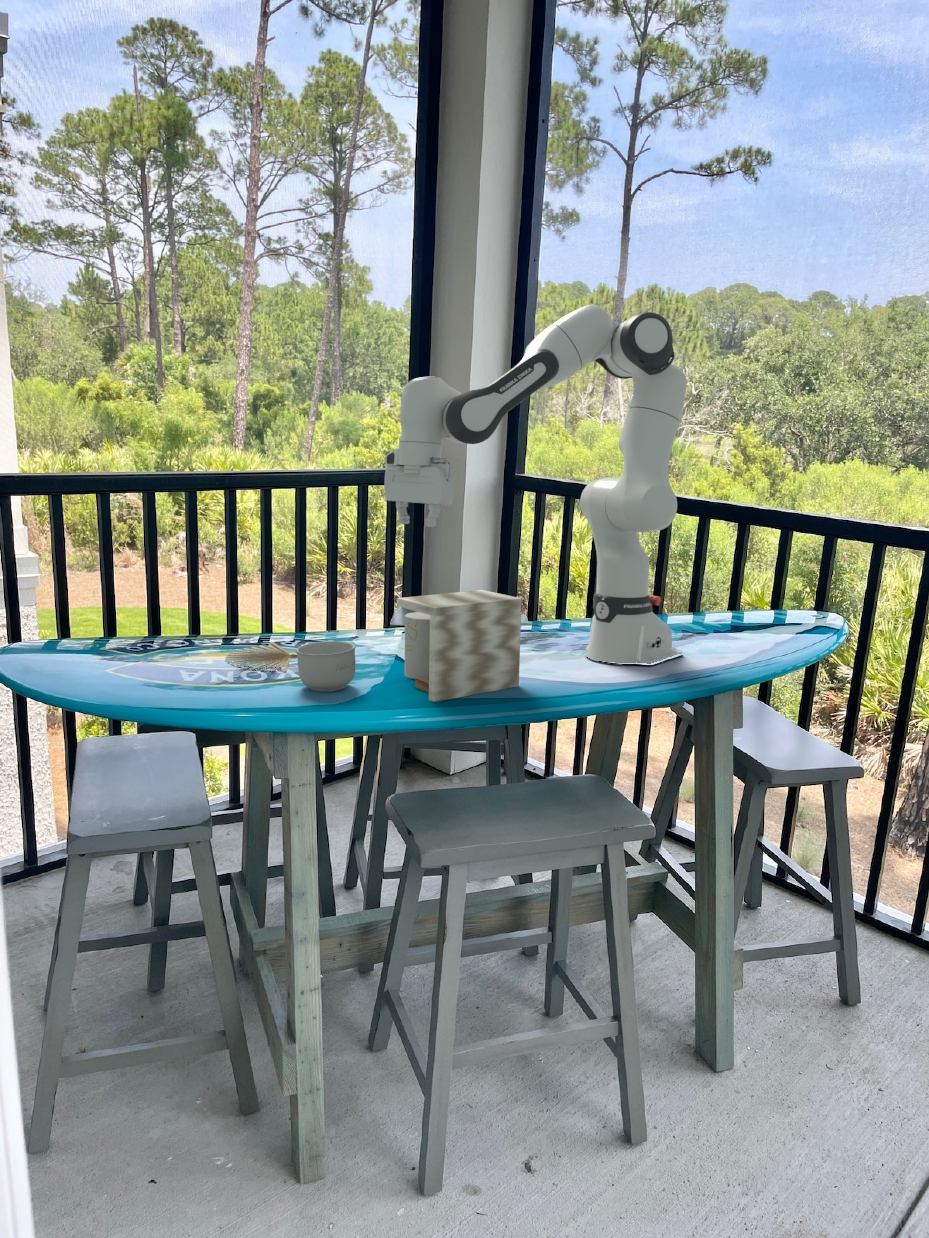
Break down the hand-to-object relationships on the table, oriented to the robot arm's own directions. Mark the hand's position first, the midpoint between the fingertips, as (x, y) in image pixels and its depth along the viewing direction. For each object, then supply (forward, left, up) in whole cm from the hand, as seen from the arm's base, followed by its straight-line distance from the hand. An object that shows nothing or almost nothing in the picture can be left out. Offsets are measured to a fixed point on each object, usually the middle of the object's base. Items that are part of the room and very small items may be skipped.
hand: (416, 525), depth 185 cm
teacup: (+26, +9, -29) cm, 40 cm away
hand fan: (+27, -18, -29) cm, 44 cm away
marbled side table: (+6, +23, -29) cm, 37 cm away
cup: (+6, +12, -29) cm, 32 cm away
